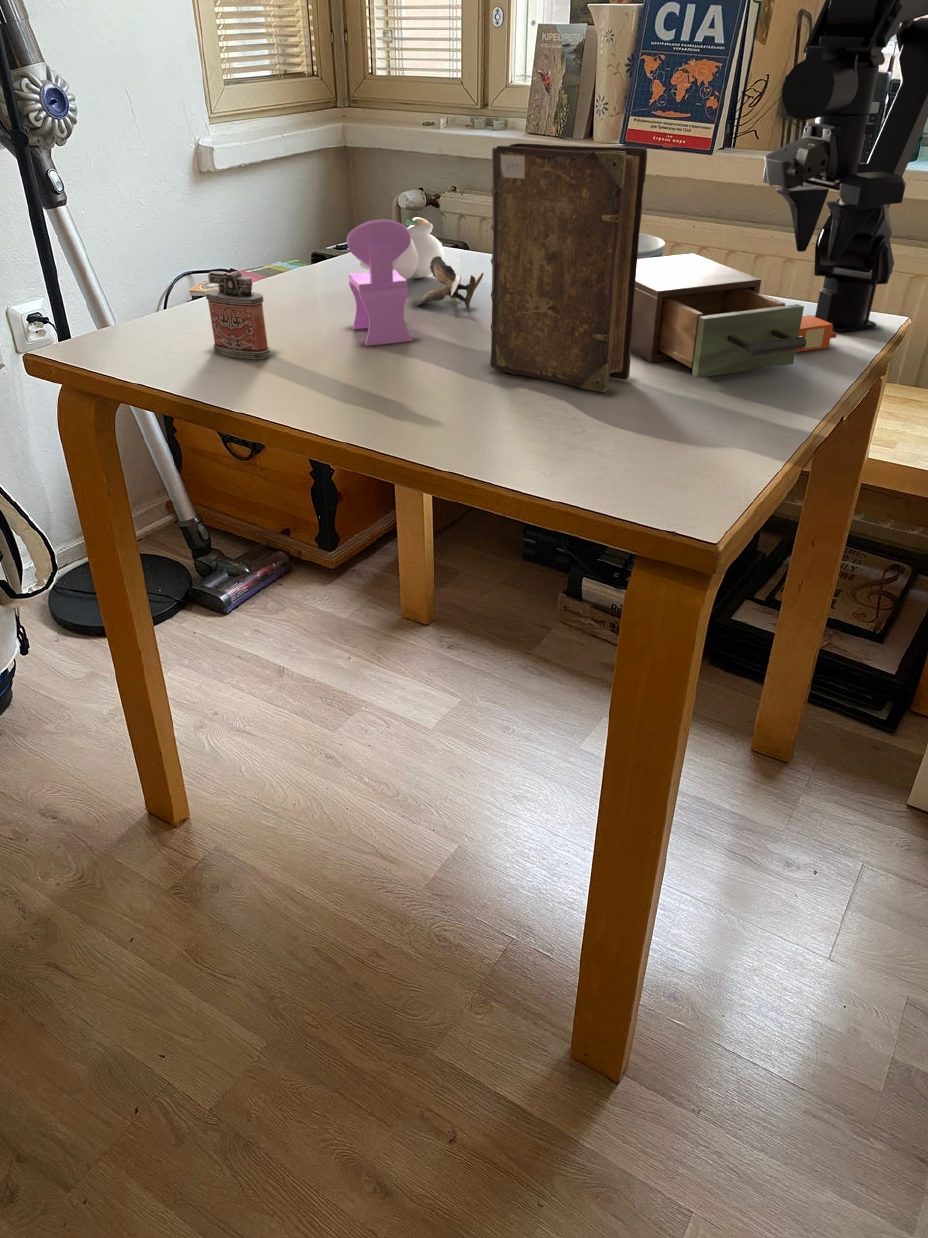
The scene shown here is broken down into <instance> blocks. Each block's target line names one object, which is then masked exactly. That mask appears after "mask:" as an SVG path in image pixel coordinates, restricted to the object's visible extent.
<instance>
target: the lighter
mask: <svg viewBox="0 0 928 1238" xmlns="http://www.w3.org/2000/svg"><path fill="white" fill-rule="evenodd" d="M207 276H208V277H207V278H208V283H209V284H216V285H218V288H213V289H208V290H206V291H205V292H204V294H205V299H206V300H207V303H208V309H209V317H210V321H211V323H210V324H211V327H212V328H211V329H212V335H213V342H214V343H213V352H214V353H216V354H219V355H223V356H228V357H233V358H242V359H251V360H262V359H266V358H268V357H270V356H271V350H270V347H269V346H268V345H269V344H268V338H267V337H268V336H267V330H266V322H265V313H264V306H263V303H264V295H263V294H262V293H259V292H254V291H252V290H253V280H252V279H253V277H251V276H245V275H242V273H241V272H239V271H233V272H230V273H227V272H223V271H216V270H215V271H214V270H213V271H209V272H208V274H207Z"/></svg>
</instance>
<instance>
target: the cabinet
mask: <svg viewBox="0 0 928 1238" xmlns="http://www.w3.org/2000/svg"><path fill="white" fill-rule="evenodd" d="M761 284H762V279H761V278H758V277H757V276H753V275H750V274H748V273H745V272H743V271H740V270H737V269H735V268H732V267H731V266H730V267H729V266H727V265H724V264H722V263H719V262H716V261H714V260H711V259H708V258H706V257H703V256H702V255H701V256H700V255H698V254H695V253H688V254H687V253H685V254H675V255H667V256H662V257H655V258H645V259H637V270H636V282H635V297H634V308H633V329H632V335H631V352H633V353H634V354H636V355H638V356H639V357H641V358H643V359H645V360H646V361H648V362H650V363H654V362H662V361H670V360H675V359H674V358H672V357H670V356H669V355H667V354H665V353H663V352H661V351H660V350H658V339H659V330H660V320H661V310H662V301H663V298H662V297H670V296H679V295H687V294H696V293H704V292H713V291H721V290H730V289H739V288H748V289H750V290H753V291H755V292H758V293H760V291H761Z"/></svg>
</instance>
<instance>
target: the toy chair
mask: <svg viewBox="0 0 928 1238" xmlns="http://www.w3.org/2000/svg"><path fill="white" fill-rule="evenodd" d="M408 228H409V227H406V225H405V224H402V223H400V222H398V221H395V220H391V219H385V218H384V219H373V220H368V221H365V222H363V223H361V224H359V225H357V226H355V227H354V228H352V229H351V230H350V231H349V232H348V234H347V236H346V245H347V248H348V250H349V252H350V253H351V255H353V256H354V257H355V258H356V259H357V260H358V261H359V262H360V261H362V262H364V263H365V264H367V265H368V266H369V270H368V271H369V272H351V273H348V285H349V288H350V290H351V292H352V294H353V297H354V301H355V315H354V320H353V324H352V329H353V330H359V329H368V330H367V336H366V339H365V343H364V345H365V346H367V347H368V346H379V345H387V344H395V343H396V344H397V343H407V342H412V341H413V339H412V337H411V334H410V333H409V330H408V328H407V325H406V322H405V317H404V316H405V313H404V311H405V305H406V301H407V298H408V293H409V290H408V279H407V280H406V279H405V278H403V277H401V276H400V275H399V273H398V272H397V271H396V270H393V261H394V260H395V259H397V258H398V257H399V256H400V255H401V254H402V253H403V252H404V251H405V250H406V249H407V248H408V247H409V245H410V240H411V236H410V232H409V230H408Z"/></svg>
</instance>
